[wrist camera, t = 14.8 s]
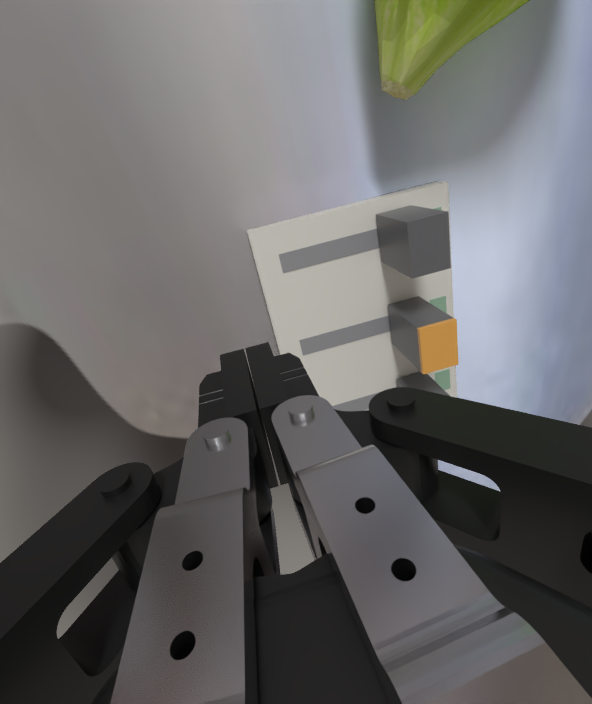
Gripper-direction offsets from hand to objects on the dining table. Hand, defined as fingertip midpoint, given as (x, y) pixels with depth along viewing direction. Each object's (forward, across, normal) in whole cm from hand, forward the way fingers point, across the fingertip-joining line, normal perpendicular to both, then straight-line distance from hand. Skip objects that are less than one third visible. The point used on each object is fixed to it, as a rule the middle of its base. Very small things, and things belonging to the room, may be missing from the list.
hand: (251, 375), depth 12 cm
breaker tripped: (+21, -15, +9) cm, 27 cm away
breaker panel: (+23, -11, +10) cm, 27 cm away
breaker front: (+21, -14, +2) cm, 25 cm away
